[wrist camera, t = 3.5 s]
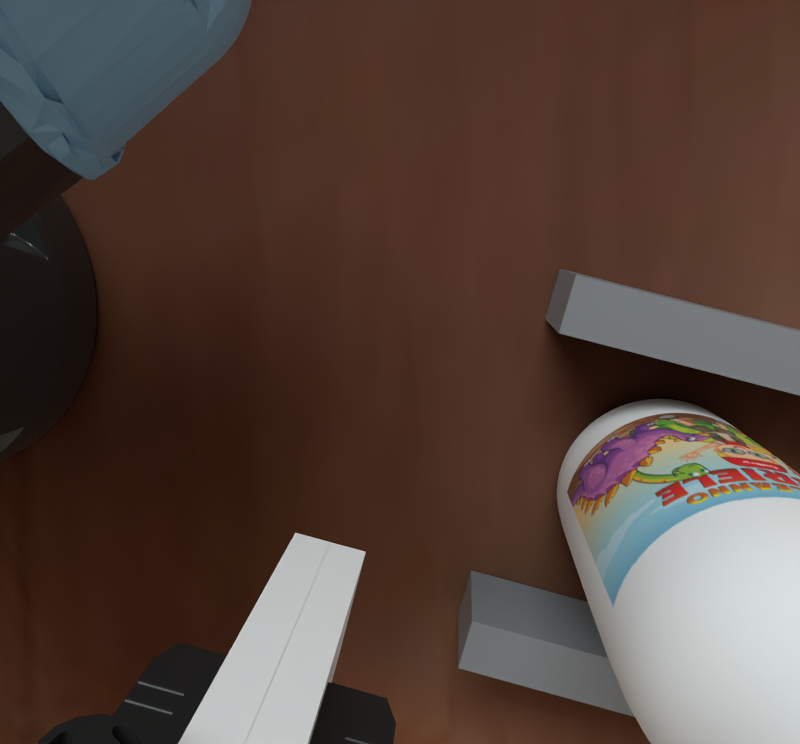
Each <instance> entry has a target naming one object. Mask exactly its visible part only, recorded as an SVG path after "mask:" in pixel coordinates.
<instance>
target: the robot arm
mask: <svg viewBox="0 0 800 744" xmlns="http://www.w3.org/2000/svg"><path fill="white" fill-rule="evenodd" d="M251 2H252V0H0V461H2V460H4V459H6V458H8V457H10V456H12V455H14V454H16V453H18V452H20V451H22V450H24V449H25V448H27V447H29V446H30V445H32V444H33V443H34V442H36V441H37V440H39V439H40V438H41V437H42V436H43V435H45V434H46V433H47V432H48V431H49V430H50V429H51V428H52V427H53V426H54V425H55V424H56V423H57V422H58V421H59V420H60V418H61V417H62V416H63V415H64V413H65V412H66V411H67V409H68V408H69V406H70V405H71V403H72V402H73V400H74V398H75V397H76V395H77V393H78V391H79V389H80V387H81V385H82V383H83V380H84V378H85V375H86V373H87V370H88V367H89V364H90V360H91V356H92V352H93V347H94V342H95V334H96V320H97V306H96V292H95V284H94V279H93V273H92V269H91V265H90V260H89V257H88V254H87V251H86V248H85V245H84V242H83V239H82V237H81V234H80V232H79V230H78V228H77V225H76V223H75V221H74V219H73V217H72V215H71V214H70V212H69V210H68V208H67V206H66V205H65V203H64V202H63V200H62V199H61V197H60V196H59V195H61V194H62V193H63V192H65V191H66V190H67V189H69V188H70V187H71V186H73V185H74V184H75V183H77V182H78V181H79V180H81V179H82V178H83V177H84V178H86V179H92V180H95V179H96V178H97V177H99V176H100V175H102V174H104V173H106V172H107V171H108V170H109V169H110V168H112V167H114V166H116V165H117V164H118V163H119V162H120V161H121V158H122V155H123V152H124V149H125V144H126V142H127V141H128V140H129V139H130V138H132V137H133V136H134V135H135V134H136V133H137V132H138V131H139V130H141V129H142V128H143V127H144V126H145V125H146V124H147V123H148V122H150V121H151V120H152V119H153V118H154V117H155V116H156V115H157V114H159V113H160V112H161V111H162V110H163V109H164V108H165V107H166V106H168V105H169V104H170V103H171V102H172V101H173V100H174V99H175V98H176V97H178V96H179V95H180V94H181V93H182V92H183V91H184V90H185V89H187V88H188V87H189V86H190V85H191V84H192V83H193V82H194V81H196V80H197V79H198V78H199V77H200V76H201V75H202V74H203V73H205V72H206V71H207V70H208V69H209V68H210V67H211V66H212V65H214V64H215V63H216V62H217V61H218V60H219V59H220V58H221V57H222V56H223V55H224V54H225V53H226V51H227V50H228V49H229V48H230V47H231V46H232V44H233V43H234V42H235V40H236V38H237V37H238V35H239V34H240V32H241V30H242V28H243V26H244V24H245V21H246V19H247V16H248V13H249V9H250V6H251ZM365 553H366V552H365V551H361V550H357V549H354V548H350V547H346V546H343V545H339V544H335V543H332V542H328V541H324V540H321V539H317V538H313V537H310V536H306V535H302V534H299V533H295V534H294V536H293V538H292V540H291V542H290V543H289V545H288V547H287V549H286V551H285V552H284V554H283V556H282V558H281V560H280V561H279V563H278V565H277V567H276V568H275V570H274V572H273V574H272V576H271V577H270V579H269V581H268V583H267V585H266V586H265V588H264V590H263V592H262V594H261V595H260V597H259V599H258V601H257V603H256V604H255V606H254V608H253V610H252V612H251V613H250V615H249V617H248V619H247V621H246V622H245V624H244V626H243V628H242V630H241V631H240V633H239V635H238V637H237V639H236V640H235V642H234V644H233V646H232V648H231V649H230V651H229V653H228V655H227V656H225V655H222V654H218V653H215V652H211V651H208V650H204V649H200V648H197V647H193V646H190V645H186V644H183V643H179V644H177V645H175V646H174V647H172V648H170V649H169V650H167V651H165V652H164V653H162V654H160V655H159V656H157V657H155V658H154V659H153V661H152V662H151V663H150V665H149V666H148V668H147V669H146V670H145V672H144V673H143V675H142V676H141V677H140V679H139V681H138V683H137V684H135V686H134V687H133V688H132V690H131V691H130V692H129V694H128V695H127V697H126V699H125V701H124V702H122V704H121V705H120V706H119V708H118V709H117V710H116V712H115V713H114V715H113V716H111V715H103V714H97V715H90V716H83V717H76V718H74V719H72V720H69V721H67V722H65V723H62V724H60V725H57V726H55V727H54V728H53V729H52V730H51V731H49V732H48V733H47V734H46V735H45V736H44V737H42V738H41V739H40V740H39V743H38V744H393V741H394V733H395V726H396V722H395V720H394V717H393V714H392V712H391V709H390V706H389V704H388V701H387V698H384V697H380V696H377V695H373V694H370V693H366V692H362V691H359V690H355V689H352V688H348V687H345V686H341V685H337V684H334V683H331V682H332V679H333V675H334V672H335V669H336V665H337V661H338V657H339V653H340V649H341V646H342V642H343V638H344V634H345V630H346V626H347V622H348V619H349V615H350V611H351V607H352V603H353V599H354V595H355V591H356V588H357V584H358V580H359V576H360V572H361V568H362V564H363V561H364V557H365Z"/></svg>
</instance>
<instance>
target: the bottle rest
mask: <svg viewBox="0 0 800 744" xmlns="http://www.w3.org/2000/svg"><path fill="white" fill-rule="evenodd" d="M545 319H546V320H547V321H548V323H549V324H550V325H551V326H552V327H553V328H554V329H555V330H556V331H557V332H558V333H560V334H564V335H567V336H571V337H575V338H579V339H583V340H587V341H591V342H595V343H598V344H602V345H606V346H610V347H614V348H618V349H622V350H625V351H629V352H633V353H637V354H641V355H645V356H649V357H653V358H656V359H660V360H664V361H668V362H672V363H676V364H680V365H683V366H687V367H691V368H695V369H699V370H703V371H707V372H711V373H714V374H718V375H722V376H726V377H730V378H734V379H738V380H741V381H745V382H749V383H753V384H757V385H761V386H765V387H769V388H772V389H776V390H780V391H784V392H788V393H792V394H796V395H799V396H800V330H798V329H794V328H790V327H787V326H783V325H779V324H775V323H771V322H767V321H763V320H759V319H755V318H751V317H747V316H743V315H740V314H736V313H732V312H728V311H724V310H720V309H716V308H712V307H708V306H704V305H700V304H696V303H693V302H689V301H685V300H681V299H677V298H673V297H669V296H665V295H661V294H657V293H653V292H649V291H646V290H642V289H638V288H634V287H630V286H626V285H622V284H618V283H614V282H610V281H606V280H602V279H599V278H595V277H591V276H587V275H583V274H579V273H575V272H571V271H567V270H563V269H560V270H559V273H558V277H557V280H556V283H555V287H554V290H553V293H552V297H551V300H550V304H549V307H548V310H547V314H546V317H545ZM458 668H460V669H463V670H467V671H470V672H474V673H478V674H481V675H485V676H489V677H492V678H496V679H499V680H503V681H507V682H510V683H514V684H517V685H521V686H525V687H528V688H532V689H535V690H539V691H543V692H546V693H550V694H553V695H557V696H561V697H564V698H568V699H572V700H575V701H579V702H582V703H586V704H590V705H593V706H597V707H600V708H604V709H608V710H611V711H615V712H618V713H622V714H626V715H629V716H633V717H635V716H634V715H633V713H632V711H631V709H630V708H629V705H628V703H627V701H626V699H625V697H624V695H623V692H622V690H621V688H620V685H619V683H618V680H617V678H616V676H615V673H614V671H613V668H612V666H611V664H610V661H609V659H608V656H607V654H606V651H605V648H604V645H603V642H602V640H601V637H600V634H599V631H598V628H597V626H596V623H595V620H594V617H593V615H592V612H591V609H590V606H589V603H588V602H586V601H583V600H579V599H575V598H572V597H568V596H564V595H561V594H557V593H553V592H549V591H546V590H542V589H538V588H535V587H531V586H527V585H524V584H520V583H516V582H513V581H509V580H505V579H502V578H498V577H494V576H491V575H487V574H483V573H480V572H476V571H472V570H471V571H470V575H469V578H468V582H467V585H466V588H465V592H464V595H463V599H462V602H461V605H460V609H459V625H458Z"/></svg>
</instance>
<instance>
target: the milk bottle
mask: <svg viewBox="0 0 800 744" xmlns="http://www.w3.org/2000/svg"><path fill="white" fill-rule="evenodd" d="M557 504H558V511H559V515H560V519H561V523H562V527H563V530H564V533H565V536H566V539H567V542H568V545H569V548H570V551H571V554H572V557H573V560H574V563H575V566H576V569H577V572H578V574H579V577H580V580H581V583H582V586H583V589H584V592H585V595H586V598H587V601H588V603H589V606H590V609H591V612H592V615H593V617H594V620H595V623H596V626H597V628H598V631H599V634H600V637H601V640H602V642H603V645H604V648H605V651H606V654H607V656H608V659H609V661H610V664H611V666H612V668H613V671H614V673H615V676H616V678H617V680H618V683H619V685H620V688H621V690H622V692H623V695H624V697H625V699H626V701H627V703H628V705H629V708H630V709H631V711H632V713H633V715H634V716H635V718H636V720H637V722H638V723H639V725H640V727H641V729H642V730H643V732H644V734H645V735H646V737H647V738H648V740H649V742H650V743H651V744H800V474H799V473H797V472H796V471H795V470H793V469H792V468H791V467H789V466H788V465H787V464H785V463H784V462H782V461H781V460H780V459H778V458H777V457H776V456H774V455H773V454H771V453H770V452H769V451H767V450H766V449H764V448H763V447H762V446H760V445H759V444H757V443H756V442H755V441H753V440H752V439H751V438H749V437H748V436H746V435H745V434H743V433H742V432H741V431H739V430H738V429H736V428H735V427H734V426H732V425H731V424H729V423H728V422H727V421H725V420H723V419H722V418H720V417H718V416H717V415H715V414H713V413H712V412H710V411H708V410H706V409H704V408H702V407H700V406H697V405H694V404H691V403H688V402H684V401H679V400H672V399H648V400H641V401H636V402H632V403H628V404H625V405H622V406H620V407H617V408H615V409H613V410H611V411H609V412H607V413H605V414H604V415H602V416H601V417H599V418H598V419H596V420H595V421H594V422H592V423H591V424H590V425H589V426H588V427H587V428H586V429H585V430H584V431H583V432H582V433H581V434H580V435H579V436H578V437H577V438H576V440H575V441H574V443H573V444H572V445H571V447H570V449H569V450H568V452H567V454H566V456H565V458H564V461H563V463H562V466H561V469H560V472H559V477H558V482H557Z"/></svg>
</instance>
